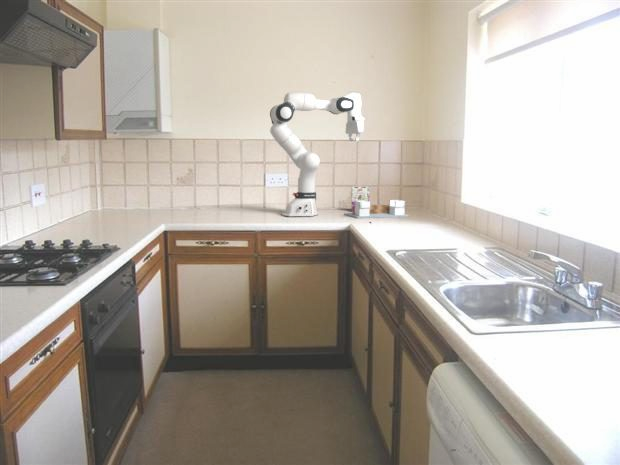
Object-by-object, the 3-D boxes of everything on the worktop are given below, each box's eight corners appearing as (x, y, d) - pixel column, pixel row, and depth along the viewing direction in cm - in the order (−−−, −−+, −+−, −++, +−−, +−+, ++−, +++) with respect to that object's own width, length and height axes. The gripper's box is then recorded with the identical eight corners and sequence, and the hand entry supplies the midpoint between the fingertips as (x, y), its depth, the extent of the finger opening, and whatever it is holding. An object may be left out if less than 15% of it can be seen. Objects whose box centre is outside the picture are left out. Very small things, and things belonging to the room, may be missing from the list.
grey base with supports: (357, 218, 315) (357, 202, 314) (344, 214, 334) (344, 199, 332) (408, 216, 326) (409, 201, 325) (392, 213, 345) (393, 198, 343)
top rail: (355, 214, 327) (355, 206, 327) (352, 213, 331) (352, 205, 330) (393, 213, 336) (393, 205, 335) (390, 212, 340) (390, 204, 339)
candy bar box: (369, 211, 352) (370, 186, 350) (368, 212, 347) (368, 187, 345) (352, 211, 355) (353, 186, 353) (351, 211, 351) (351, 186, 348)
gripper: (343, 119, 346) (343, 141, 348) (356, 117, 327) (356, 140, 329) (352, 119, 348) (351, 141, 350) (365, 117, 329) (365, 140, 331)
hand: (354, 140), depth 340 cm, fingers open, 8 cm apart
